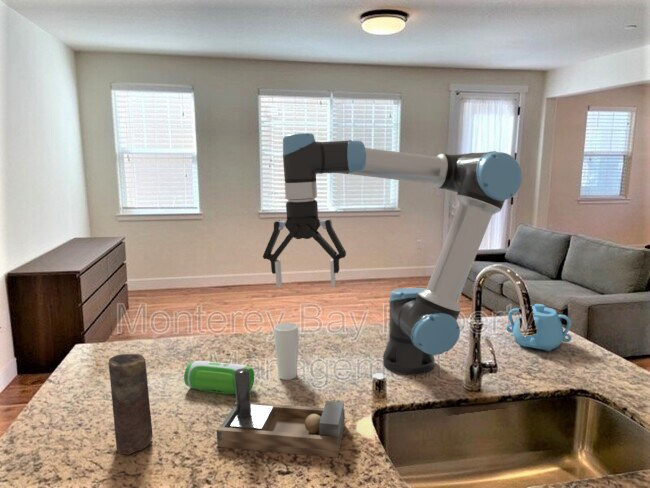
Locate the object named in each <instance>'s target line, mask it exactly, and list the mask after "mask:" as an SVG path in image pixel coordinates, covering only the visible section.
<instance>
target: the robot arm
mask: <svg viewBox="0 0 650 488" xmlns="http://www.w3.org/2000/svg"><path fill="white" fill-rule="evenodd" d="M282 161H283V164H282V165H283V174H284V175H283V176H284V191H285V193H284V195H285V199H286V200H287V201H286V203H285V207H286V208H285V209H286V211H285V212H286V221H282V220H280V219H278V220H276V221H274V222H273V230H272V231H273V232H272V233H271V236H270V238H269V241H268V243H267V245H266V248H265V250H264V253H263V254H262V255H263V256H262V258H263V259H264V260H268V261H270V267H271V270H270V271H271V274H273V275H274V274H275V285H276V286H275V287H276V288H281V287H282V285H283V279H282V264H281V262H282V261H281V259H278V258H279V257H280V255H281V254H282V253H283V251H284V250H285V249H286V247H287V246H288V245H289V243H290V242H291V241H292V240H293V239H296V240H301V239H304V240H309V239H313V240H314V241H316V243H318V244H319V245H320V246H321V248H322V249H323V250H324V251H325V252H326V253H327V254H328V255H329V257H331V259H330V260H329V264H330V265H329V266H330V267H329V268H330V269H329V270H330V287H331V288H335V286H336V283H337V282H336V274H339V271H340V260H341V259H342V258H343V259H344V258H345V257H346V256H347V252H346V249H345V248H344V247H343V244H342V242H341V241H340V238H339V236H338V235H337V233H336V231H335V230H334V227H333V223H332V219H331V218H327V219H323V220H321V219H319V210H318V209H319V207H318V201H317V200H316V199H317V198H318V190H317V175H323V174H343V175H351V176H352V175H354V176H360V177H362V176H363V177H369V178H379V179H386V180H394V181H395V180H396V181H403V182H412V183H413V182H414V183H421V184H429V185H432V186H433V188H434V189H442V190H445V191H446V190H447V191H450V192H455V193H456V196H455V197H456V199H457V202H458V203H459V204H458V207H457V210H456V212H455V215H454V217H453V219H452V223H451V225H450V228H449V230H448V233H447V235H446V237H445V240H444V243H443V245H442V248H441V250H440V253H439V256H438V257H437V261H436V263H435V266H434V269H433V272H432V274H431V276H430V279H429V281H428V282H427V283H428V284H427V286H426V288H421V287H418V288H417V287H405V288H403V287H401V288H395V289H394V290H392V291H391V292H390V294H389V301H388V303H389V316H388V317H389V318H388V320H389V326H388V327H389V328H388V329H389V330H388V331H389V332H388V333H389V336H388V341H387V344H386V347H385V350H384V352H383V356H382V358H383V360H382V362H383V367H385V368H386V369H388V370H389V371H391V372H394V373H397V374H400V375H408V376H412V375H413V376H415V375H416V376H417V375H423V374H427V373H429V372H432V370H433V369H434V368H435V356H436V355H437V356H438V355H443V354H444V353H446V352H447V353H448V352H449V351H450V350H451V349H453V348H454V347H455V345H457V342H458V341H459V338H460V335H461V328H460V325H459V322H458V321H457V320H458V318H459V315H460V313H461V311H462V309H461V307H460V305H459V299H460V297H461V295H462V292H463V289H464V286H465V284H466V282H467V279H468V276H469V274H470V271H471V269H472V266H473V265H474V263H475V262H474V261H475V260H476V257H477V253H478V252H479V249H480V247H481V244H482V242H483V239H484V237H485V234H486V232H487V230H488V227H489V225H490V221H491V219H492V217H493V216H494V215H495V214H497V213H499V212H501V211H502V209H503V206H504V204H505V201H506V200H509V199H510V198H512V197H514V196H515V195H516V194H517V193H518V191H519V190H520V188H521V186H522V180H523V172H522V169H521V167H520V164H519V162H518V160H517V159H516V158H515V157H514V156H512V155H510V154H509V153H506V152H501V151H499V152H498V151H495V150H494V151H493V150H492V151H486V152H469V153H461V154H446V153H439V154H438V155H437V156H432V155H424V154H418V153H410V152H401V151H393V150H384V149H376V148H370V147H369V148H368V147H365V144H364V142H363V141H362V140H353V139H352V140H351V139H348V140H336V141H335V140H334V141H316V138H315V135H314V134H313V133H311V132H309V133H303V132H300V133H299V132H298V133H289V134H286V135H284V137H283V138H282ZM321 226H322V228H323V230H326V232H327V234H328V236H329V238H330V240H331V242H332V243H333V245H334V247H335V249H336V250H335V249H334V248H333V247H332V246H331V245H330V244H329V243H328V241H327V240H326V239H325V238H324V237H323V235H322V234H321V233H320V231H318V229H319V228H320V227H321ZM284 228H286V229H287V231H288V232H289V233H288V234H287V235H286V236H285V238H284V239H283V241H282V242H281V243H280V245H279V246H278V247H277V249H276V250H275V251H274V253H273V254H272V252H273V250H274V247H275V245H276V243H277V240H278V238H279V236H280V233H281V231H282V230H283V229H284Z"/></svg>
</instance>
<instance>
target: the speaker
mask: <svg viewBox="0 0 650 488" xmlns="http://www.w3.org/2000/svg"><path fill="white" fill-rule="evenodd" d="M242 368H245V369H248V370H249V375H250V392H251V391H252V389H253V387H254V384H255V372H254V369H253V368H252V367H250V366H247V365H244V364H238V363H237V364H235V363H228V362H227V363H226V362H218V361H217V362H216V361H207V360H194V361H191V362H189V363H188V364H187V366H186V367H185V370H184V374H183V380H184V385H186V386H188V387H189V388H191V389H195V390H200V391H203V392H208V393H215V394H216V393H218V394H223V395H224V394H225V395H236V390H235V371H236V370H238V369H242Z"/></svg>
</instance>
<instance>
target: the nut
mask: <svg viewBox="0 0 650 488" xmlns="http://www.w3.org/2000/svg"><path fill="white" fill-rule="evenodd" d="M320 419H321V417H320V416H319V415H317V414H311V415H309V416H308V417H307V418H306V420H305V427H306V429H307V431H309V432H310V433H318V432H319V422H320Z"/></svg>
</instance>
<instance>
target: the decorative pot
mask: <svg viewBox="0 0 650 488" xmlns="http://www.w3.org/2000/svg"><path fill="white" fill-rule="evenodd" d="M531 306H532V309H533V313H534V320H535V325H536V328H537V333H536V334H535V335H531V336H526V337H524V336H523V335H522V334H521V333H520V332H519V316H518V315H517V318H516V319H515V322H514V319H513V313H514V312H517V313H520V312H519V309H520V308H518V307H515V308H512V309H510V310H509V311H508V315H507V316H508V320H509V323H510V324H507V325H506V331H507V332H508V333H512V336H513V337H514V339H515V341H516V342H517V343H518V344H519V345H520V347H523V348H532V349H537V350H542V351H544V352H551V351H552V350H555V349H556V348H558V347H559V346H560V345H561V344H562V342H564V343H569V342H571V341H572V336H571V334H569V333H568V332H569V330H570V328H571V325H572V321H571V319H570V317H568V316H567V315H566V314H558V312H557V311H556V310H555V309H554V308H550V307H547V306H546V305H545V304H542V303H534V305H531ZM561 319H564V320H565V321H566V322H567V324H566V327H565V329H564V327H563V324H562V321H561ZM510 327H511V328H510ZM566 337H567V338H566Z"/></svg>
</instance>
